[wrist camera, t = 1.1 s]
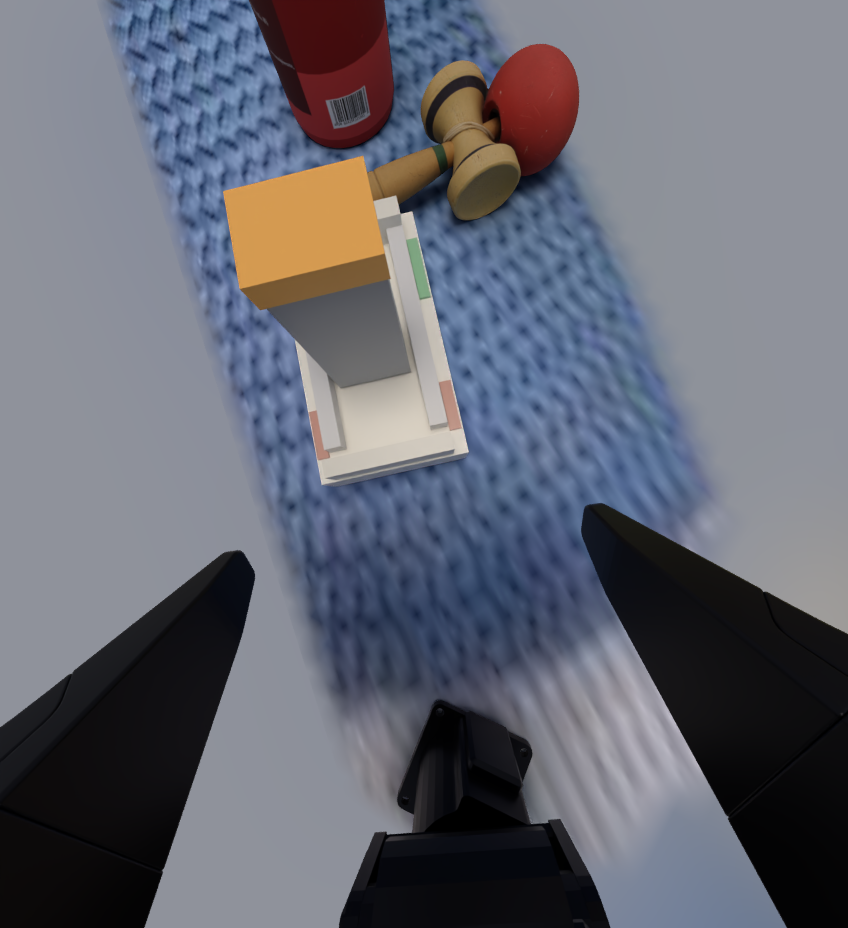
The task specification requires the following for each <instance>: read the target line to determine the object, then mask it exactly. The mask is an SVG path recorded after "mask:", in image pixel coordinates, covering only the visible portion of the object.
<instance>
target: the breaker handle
mask: <svg viewBox="0 0 848 928" xmlns="http://www.w3.org/2000/svg"><path fill="white" fill-rule="evenodd" d="M223 193H224V199H225V205H226V211H227V216H228V222H229V228H230V234H231V240H232V246H233V252H234V258H235V264H236V270H237V276H238V281H239V287H240V290H241V291H242V292H243V293H244V294H245V295H246V296H247V297H248V298H249V299H250V300H251V301H252V302H253V303H254V304H255V305H256V306H257V307H258V308H259V309H260V310H264V309H267V310H268V311H269V312H270V313H271V314H272V315H273V316H274V317H275V318H276V319H277V321H278V322H279V323H280V324H281V325H282V326H283V327H284V328H285V329H286V330H287V331H288V332H289V333H290V334H291V336H292V337H293V338H294V339H295V340H296V341H297V342H298V343H299V344H300V345H301V346H302V347H303V348H304V350H305V351H306V352H307V353H308V354H309V355H310V356H311V357H312V358H313V359H314V360H315V361H316V362H317V363H318V365H319V366H320V367H321V368H322V369H323V370H324V371H325V372H326V373H327V374H328V375H329V376H330V377H331V379H332V380H333V381H334V382H335V383H336V384H337V385H338V386H339V387H340V388H343V387H347V386H351V385H355V384H360V383H364V382H368V381H373V380H377V379H381V378H386V377H390V376H394V375H399V374H403V373H407V372H411V369H410V365H409V360H408V356H407V351H406V347H405V342H404V338H403V333H402V329H401V324H400V320H399V316H398V312H397V308H396V304H395V300H394V296H393V291H392V287H391V283H390V279H391V278H390V273H389V269H388V264H387V260H386V255H385V251H384V246H383V242H382V237H381V233H380V228H379V224H378V219H377V215H376V210H375V206H374V201H373V197H372V192H371V188H370V183H369V179H368V175H367V170H366V166H365V162H364V158H363V156H361V157H357V158H353V159H349V160H345V161H341V162H337V163H333V164H329V165H325V166H321V167H317V168H313V169H309V170H305V171H301V172H298V173H294V174H290V175H286V176H282V177H278V178H274V179H270V180H266V181H262V182H258V183H254V184H250V185H246V186H242V187H238V188H234V189H230V190H227V191H223Z"/></svg>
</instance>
